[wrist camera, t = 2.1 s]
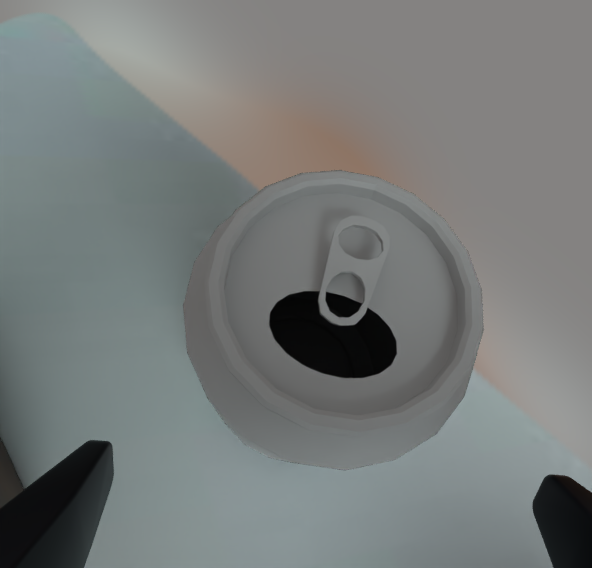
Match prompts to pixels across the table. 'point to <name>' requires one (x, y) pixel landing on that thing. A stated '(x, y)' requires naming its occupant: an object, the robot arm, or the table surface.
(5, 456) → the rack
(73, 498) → the robot arm
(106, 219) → the table surface
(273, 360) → the can
